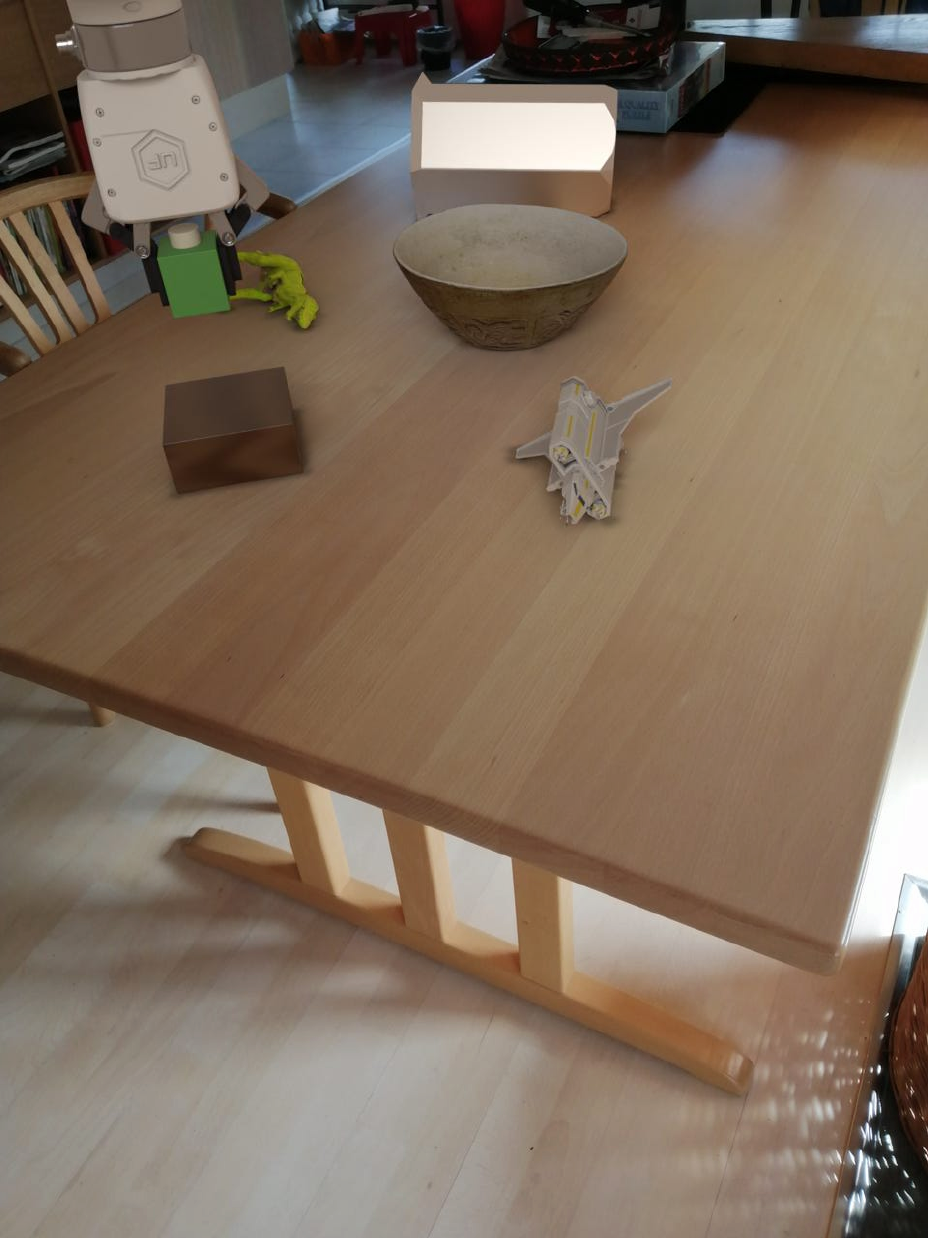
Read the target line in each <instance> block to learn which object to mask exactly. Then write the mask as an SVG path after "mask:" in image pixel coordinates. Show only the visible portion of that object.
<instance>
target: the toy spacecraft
mask: <svg viewBox="0 0 928 1238" xmlns="http://www.w3.org/2000/svg"><path fill="white" fill-rule="evenodd" d="M674 380H675V379H674V378H673V376H669V377H667V378H665V379H662V380H660V381H657V382H655V383H653V384H650V385H647V386H645V387H643V388H640V389H638V390H635V391H633V392H630V393H628V394H626V395H623V396H622V397H621V398H620V399H618V400H616V401H611V402H607V403H605V402H604V400H603V399H602V397H601V396H600V395H598V394H596V393H595V392H594V390H592V389H590V388H589V386H588V384H587V382H586V381H585V380H584V379H582V378H580V377H578V376H577V375H575V374H574V375H572V376H570V377H568V378H565V379H563V380H562V383H560V394H559V400H558V411H556V413H555V418H554V422H553V426H552V429H551V430H549V431H548V432H546V433H543V434H542V435H539V436H538V437H536V438H533V440H530V441H528V442H527V443H525V444H523V445H521V446H519V447H517V448H516V449H515V451H516V453H515V457H514V458H515V459H516V460H518V459H525V458H533V457H539V456H545V457H546V458H547V459H548V460H549V462H551V467H550V471H549V477H548V482H547V486H546V487H545V489H546V491H547V492H554V491H556V490H558V489H559V490H561V496H562V497H563V498H564V499H563V500H562V504H561V505H560V506H559V513H560V516H559V520H561V519H562V516H565V517H566V519H565V522H566V523H565V528H567V527H568V523H569V521H570V517H571V521H570V523H571V524H572V525H575V524H577V523H578V522H579V521H580V520H581V518H582V517H583V516H584V515H585V513H587V515H588V516H590V517H592V518H594V519H595V520H597V521H598V522H599V521H600V520H602V519H605V518H607V517H610V516H611V513H612V512H611V511H612V505H613V497H614V488H615V480H616V471H617V463H618V462H619V461H620V458H619V457H620V453H621V450H623V451H624V454H628V451H627V450H626V449H625V447H624V446H625V442H624V439H623V436H622V434H623V433H624V431H625V430H626V429H627V427H628V425H629V424H630V423H631V421H632V420H633V418H634V417H635V415H636V414H637V413H639V412H640V411H641V410H643V409H644V408H646V407H647V406H648V405H650V404H651V403H653V402H654V401H655V400H657V399H658V398H659V397H661V396H662V395H663V394H665V393H666V392H667V391H670V389H672V388H673V382H674Z"/></svg>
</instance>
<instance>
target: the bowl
mask: <svg viewBox="0 0 928 1238" xmlns="http://www.w3.org/2000/svg"><path fill="white" fill-rule="evenodd" d="M628 253H629V244H628V241H627V240H626V238H625V237H624V235H623V233H621V232H620V231H619V229H617V228H616V227H615V226H613V225H611V224H608V223H606V222H604V221H602V220H600V219H597V218H595V217H590V216H587V215H584V214H582V213H577V212H573V211H568V210H562V209H557V208H552V207H543V206H531V205H514V204H477V205H465V206H459V207H456V208H452V209H447V210H443V211H441V212H439V213H435V214H429V215H427V216H426V217H425V218H423V219H421V220H420V221H418V220H417V221H415V222H414V223H412V224H409V225H408V226H407V227H405V228H404V229H402V230H401V232H400V234H399V235H398V236H397V238H396V240H395V241H394V243H393V247H392V255H393V257H394V260H395V263H396V264H397V266H398V268H399V270H400V271H401V273H402V274H403V276H404V277H405V279H406V280H407V282H408V284H409V285H410V287H411V288H412V289H413V291H414V292H415V294H416V295H417V296H418V297H419V298H420V299H421V301H422V302H423V304H424V305H425V306H426V307H427V309H428V310H429V311H430V312H431V313H432V314H433V315H434V316H435V317H436V318H437V319H438V320H439V322H440V323H442V324H443V325H444V326H445V327H446V328H447V329H448V330H450V331H451V332H452V333H453V334H455V335H456V336H457V337H459V338H460V339H461V340H463V341H464V342H466V343H468V344H470V345H472V346H474V347H478V348H481V349H487V350H495V351H515V350H521V349H529V348H535V347H538V346H540V345H543V344H546V343H547V342H550V341H551V340H552V339H553V340H554V338H556V337H558V336H559V335H560V334H562V333H563V332H564V331H566V330H567V329H568V328H570V327H571V326H572V325H573V324H575V323H576V322H577V321H578V320H579V319H580V317H582V316H583V315H584V314H586V312H587V311H588V310H589V309H590V308H591V307H592V305H593V304H594V303H596V301H598V299H599V298H600V297H601V296H602V294H603V293H604V292H605V291H606V289H608V287H609V286H610V285H611V283H612V282H613V281H614V279H615V278H616V276H617V275H618V273H619V272H620V270H621V268H622V267H623V265H624V264H625V262H626V259H627V257H628Z"/></svg>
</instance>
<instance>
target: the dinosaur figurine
mask: <svg viewBox="0 0 928 1238" xmlns="http://www.w3.org/2000/svg"><path fill="white" fill-rule="evenodd" d="M237 255H238V259H239V261H242V262H245V263H248V264H249V265H250V266H254V267H257V268H260V274H259V281H258V286H257V287H254V286H248V287H246V288H239V289H237V288H236V295H235V296H230V302H231V301H233V300H238V299H239V300H240V299H248V300H254V301H255V300H260V301H261V302H268V301H272V303H270V306H269V307H268V309H267V313H269V314H270V313H273V312H274V311H278V310H280V309H284V308H285V307H289V306H290V309H289V310H287V312H286V313H285V319H286V320H287V321H289V322H292V321H293V319H295V320H296V321H297V323H298V326H299V327H300V328H301V329H308V328H309V327H310V325H311V324H312V322H313V321H314V320H316V318H317V312H318V310H319V307H320V306H319V304H318V303H317V300H316V299H315V298H313V296H311V295H309V294H308V293H307V289H306V288H305V286H304V285H303V284H304V283H305V281H306V277H305V276H304V274H303V272H302V269H301V267H300V266H299V264H298V263H297V261H296V260H294V259H293V258H291V257H288V256H285V255H283V254H275V253H273V252H270V251H269V250H267V251H265V252H262V251H259V250H258V249H257V250H255V251H252V252H245V251H237Z"/></svg>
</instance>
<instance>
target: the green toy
mask: <svg viewBox="0 0 928 1238" xmlns="http://www.w3.org/2000/svg"><path fill="white" fill-rule="evenodd" d="M167 234H168V236H161V237H158V242H157V246H158V254H157V260H158V264H159V268H160V271H161V275H162V278H163V282H164V286H165V289H166V293H167V296H168V300H169V303H170V305H169V308H170V310H171V315H172V317H173V319H174V320H176V319H182V318H188V317H189V318H190V317H195V316H196V317H197V316H202V315H208V314H216V313H221V312H227V311H231V309H232V308H231V301H230V295H228V293H227V289H226V285H225V281H224V277H223V272H222V268H221V264H220V260H219V256H218V251H217V232H216V230H215V229H209V230H204V231H201V230H200V226H199V225H198V224H197V223H194V222H182V223H178V224H174V225H172V226H171V227H169V228H168V229H167Z"/></svg>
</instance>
